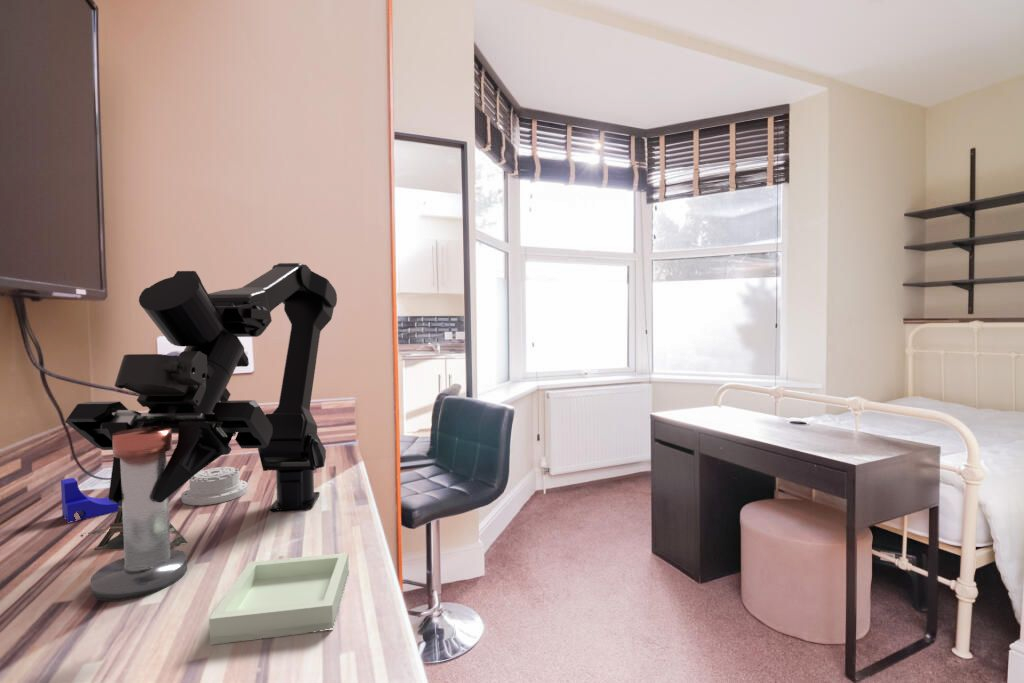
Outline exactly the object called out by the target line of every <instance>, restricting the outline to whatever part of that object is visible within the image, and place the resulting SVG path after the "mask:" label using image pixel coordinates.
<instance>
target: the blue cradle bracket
mask: <svg viewBox="0 0 1024 683" xmlns="http://www.w3.org/2000/svg"><path fill="white" fill-rule="evenodd" d="M60 491H61V494H60V495H61V511H62V517H63V516H64V517H65V518H66V520H67V521H68V522H70V521H75V520H76V519H75V517H74V514H75V513H76V512H77V513H78V514H79V516H80V518H81V520H80V521H83V520H82V519H84V520H87V519H86V518H89V519H92V517H93V518H96V516H97V517H99V516H100V515H101V516H105V515H108V514H113V513H117V512H118V509H119V507H118V506H119V505H120V502H119V503H113V502H112V501H110V500H109V497H103V498H99V497H98V498H97V497H91V496H90V495H86V494H85V493H84V492H83V493H82V491H81V490H80V488H79V484H78V480H76V479H75V477H70V478H64V479H61V480H60ZM104 514H105V515H104ZM64 517H63V518H64ZM66 520H65V521H66ZM67 521H66V522H67Z"/></svg>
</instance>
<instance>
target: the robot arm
mask: <svg viewBox="0 0 1024 683" xmlns="http://www.w3.org/2000/svg"><path fill="white" fill-rule="evenodd" d="M337 295H338V294H337V292H336V289H335V287H334V286H333V285H332V283H331V282H330V281H329V279H327V278H326V277H324V276H323V275H320V274H318V273H316V272H314V271H312V270H311V269H310V268H309V266H308V265H307V264H303V263H302V262H291V263H290V262H280V263H276V264H274V265H273V266H272V268H271V269H270V270H268V271H266V272H265V273H263V274H262V275H260V276H258V277H257V278H255V279H253V280H252V281H250V282H248V283H247V284H245V285H243V286H242V287H238V288H232V289H224V290H218V291H214V292H210V293H208V291H207V290H206V288H205V286H204V285H203V282H202V279H201V278H200V276H199V274H198V272H197V271H196V270H177V271H176V272H175V274H174V275H173V276H170V277H167V278H164V279H161V280H159V281H158V282H155V283H154V284H152V285H151V286H149V287H146V288H144V289H143V290H142V291H141V293H140V295H139V297H138V303H139V306H140V307H141V308H142V309H143V310H144V312H145V313H146V315H148V317H149V318H150V319H151V321H152V322H153V323H154V325H155V326H156V327H157V328H158V330H159V331H160V333H161V334H162V335H163V336H164V337H165V339H166V340H167V341H168V342H169V343H170V344H171V345H173V346H177V347H185V348H184V350H183V351H181V352H180V353H179V355H178V354H177V355H168V354H163V353H162V354H161V353H159V354H158V353H156V354H155V353H153V354H152V353H146V354H145V353H143V354H142V353H140V354H139V353H136V354H135V353H134V354H132V353H131V354H124V355H123V357H122V360H121V362H120V366H119V369H118V372H117V376H116V378H115V379H116V380H115V383H114V387H115V388H117V389H126V390H127V391H130V392H133V393H135V394H138V396H137V399H136V402H138V404H140V406H141V407H143V408H148V412H147V413H141V412H140V411H137V410H133V409H129V408H127V406H125V405H124V403H123V402H121V401H86V402H80V403H78V404H76V405H75V406H74V409H72V411H71V413H70V414H69V415H68V417H67V418H66V420H65V423H66V424H67V425H68V426H70V427H71V428H72V429H73V430H74V431H76V432H77V433H78V434H79V435H80V436H82V437H83V438H84V439H86V441H88V442H89V443H90V444H92V445H93V446H94V447H95V448H98V449H101V450H103V451H113V442H112V434H114V433H116V432H119V431H123V430H128V429H133V428H140V427H151V426H168V427H171V429H172V435H173V434H175V435H176V434H178V435H177V443H176V446H175V449H174V450H173V452H172V454H171V456H170V458H169V459H168V462H167V466H166V468H165V470H164V472H163V474H162V476H161V477H160V479H159V482H158V484H157V486H156V489H155V492H154V494H153V499H154V500H155V501H156V502H158V503H159V502H163V501H164V500H165V499H167V498H168V499H169V497H170V496H172V495H173V494H174V493H175V492H176V491H177V490H179V489H180V488H181V487H182V486H183V485H185V483H187V482H188V481H190V478H192V477H193V476H194V475H195V474H197V473H198V472H199V471H201V470H203V469H204V468H206V467H207V466H208V465H210V464H211V463H213V462H214V461H216V460H217V459H218V458H220V457H221V456H226V455H229V454H231V451H232V448H231V447H230V446H229V445H230V443H231V440H232V438H233V437H235V439H234V440H235V442H236V443H237V445H238V446H239V447H240V448H241V449H257V450H258V456H259V459H260V463H261V464H260V465H261V467H262V471H263V472H267V471H275V477H276V478H275V480H276V481H275V482H276V483H275V484H276V499H275V501H274V502H273V503H272V504H271V506H270V507H269V511H270V512H275V511H289V510H302V509H311V508H313V507H314V505H315V504H316V502H317V501H318V499H319V497H320V491H315V484H314V483H315V482H314V481H315V479H314V471H316V470H317V469H320V468H324V467H325V464H326V459H327V458H326V457H327V456H326V454H327V449H326V448H325V446H324V445H323V442H322V440H321V439H320V438H319V436H318V425H317V422H316V421H315V419H314V416H313V415H312V412H311V401H312V393H313V386H314V378H315V374H316V373H315V371H316V365H317V359H318V350H319V344H320V343H319V342H320V336H321V331H323V329H324V328H326V326H327V325H328V324H329V323H330V321H332V318H333V314H334V309H335V307H336V305H337V303H338V296H337ZM281 304H283V307H284V308H283V310H284V312H285V315H286V317H287V318H288V320H289V322H290V324H291V328H290V335H289V339H288V346H287V350H286V351H287V352H286V356H285V357H286V358H285V365H284V370H283V375H282V382H281V387H280V388H281V390H280V395H279V401H278V406H277V407H276V408H275V409H274V410H273V411H272V413H265V412H264V411H263V409H262V408H261V406H260V405H259V404H258V402H257V401H256V400H255V399H253V400H249V399H247V400H245V399H243V400H241V399H240V400H239V399H238V400H235V399H234V400H229V399H230V397H231V395H232V394H231V393H230V391H229V390H228V389H227V387H228V384H229V382H230V380H231V378H232V376H233V375H234V371H235V370H236V368H237V367H242V368H243V367H248V366H249V365H250V363H249V358H248V355H247V353H246V352H245V347H244V344H242V342H241V340H240V339H239V338H256V337H257V338H258V337H260V336H261V335H262V334H263V333H264V332H265V331H266V329H267V328H268V327H269V325H270V324H271V323H272V321H273V320H272V316H271V315H272V314H271V312H272V311H273V310H274V309H275V308H277V307H278V306H279V305H281ZM108 498H109V500H110V501H112V502H113V503H119V502H120V501H121V500H122V491H121V468H120V458H116V457H112V467H111V476H110V483H109V490H108Z"/></svg>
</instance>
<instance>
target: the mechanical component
mask: <svg viewBox="0 0 1024 683" xmlns="http://www.w3.org/2000/svg"><path fill="white" fill-rule="evenodd" d="M240 477H241V473H240V469H239V468H235V466H221V467H219V466H218V467H211V468H208V469H204V470H203V469H202V470H200V471H199V472H198V473H197V474H195V475H194V476H193V477H192V478H190V479H189V488H187V489H185V490H183V492H181V495H180V497H181V502H182V503H183V504H184V505H189V506H209V505H214V504H221V503H224V502H225V503H226V502H228V501H231V500H235V499H237V498H240V497H241V496H244V495H246V493H247V492H248V491H249V490H248V487H249V486H248V484H249V483H248V482H247V481H245V480H242V479H240Z"/></svg>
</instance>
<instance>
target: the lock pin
mask: <svg viewBox="0 0 1024 683" xmlns="http://www.w3.org/2000/svg"><path fill="white" fill-rule="evenodd" d="M172 435H173V434H172V429H171V427H168V426H151V427H140V428H133V429H128V430H123V431H119V432H116V433H114V434H112V442H113V450H112V456H113V457H112V458H114V457H116V458H120V468H121V491H122V513H123V516H122V517H123V536H124V549H123V551H124V552H123V554H124V555H123V556H124V557H123V558H125V569H127V570H130V571H138V570H145V569H149V568H152V567H155V566H158V565H160V564H162V563H164V562H166V561H167V560H168V559H169V558H170V549H171V545H170V543H171V540H170V538H171V536H170V533H169V522H170V516H169V515H170V512H169V511H170V510H169V497H168V498H167V499H165V500H164V501H163V502H159V503H158V502H156V501H155V500H154V499H153V494H154V492H155V489H156V486H157V484H158V482H159V479H160V477H161V476H162V474H163V472H164V470H165V468H166V466H167V464H168V462H167V461H168V460H167V452H169V451H171V450H172V449H173V437H172Z"/></svg>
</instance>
